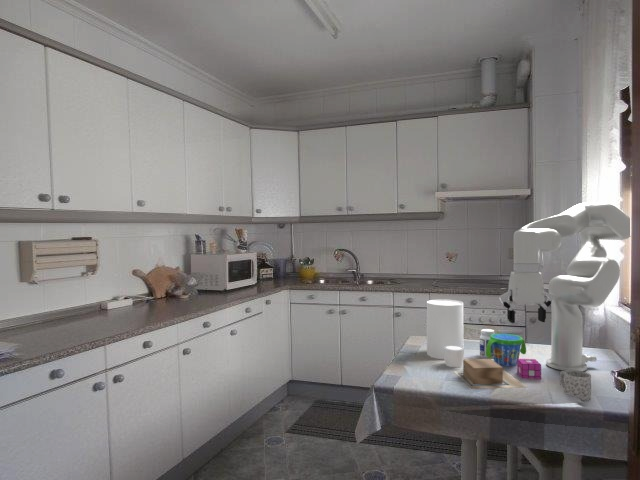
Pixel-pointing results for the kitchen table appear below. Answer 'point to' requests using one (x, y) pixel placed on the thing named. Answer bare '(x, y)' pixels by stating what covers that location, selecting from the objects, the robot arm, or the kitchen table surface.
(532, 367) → the puzzle toy
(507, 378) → the board
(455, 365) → the shot glass
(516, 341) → the snack cup
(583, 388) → the mug
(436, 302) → the canister
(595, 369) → the kitchen table surface
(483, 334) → the pill bottle
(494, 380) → the walnut base block
